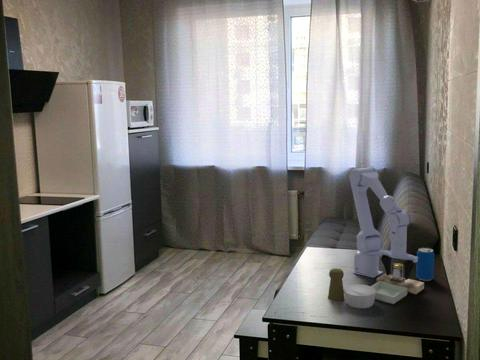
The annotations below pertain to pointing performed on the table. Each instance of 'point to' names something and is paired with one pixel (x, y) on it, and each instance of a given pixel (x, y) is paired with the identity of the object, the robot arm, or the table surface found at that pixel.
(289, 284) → the table surface
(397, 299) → the tray
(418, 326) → the table surface
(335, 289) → the cork
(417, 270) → the beverage can
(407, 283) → the wooden block with hole
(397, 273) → the white and gold cylinder
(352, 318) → the table surface
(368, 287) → the ramekin
